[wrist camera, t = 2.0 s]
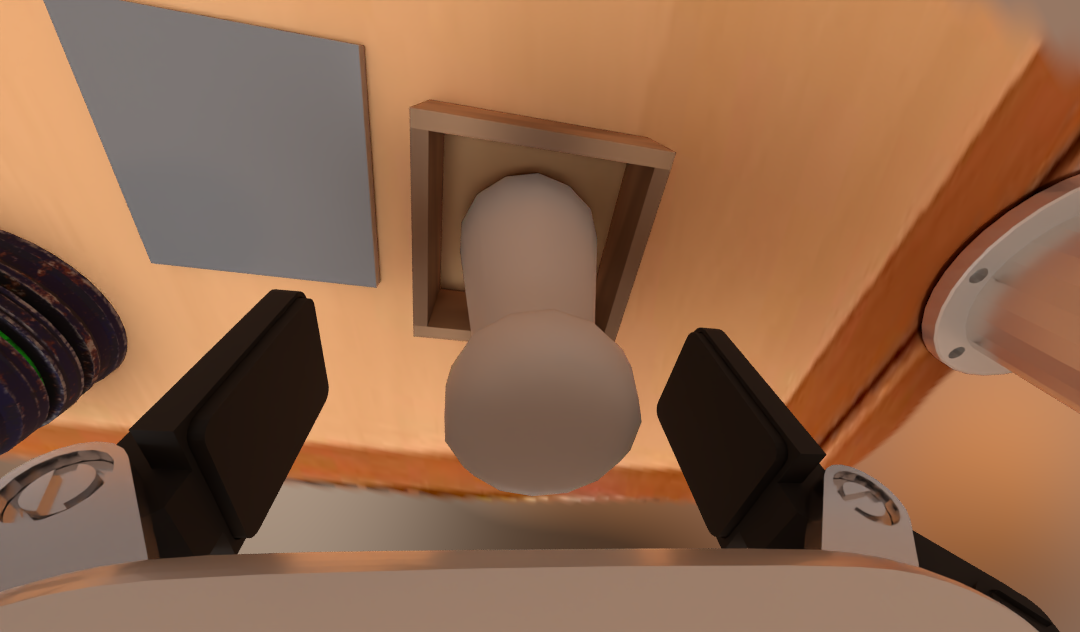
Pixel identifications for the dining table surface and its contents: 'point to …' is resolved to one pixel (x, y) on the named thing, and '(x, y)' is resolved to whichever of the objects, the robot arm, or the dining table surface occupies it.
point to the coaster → (230, 139)
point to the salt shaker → (536, 346)
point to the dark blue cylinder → (49, 338)
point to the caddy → (644, 157)
